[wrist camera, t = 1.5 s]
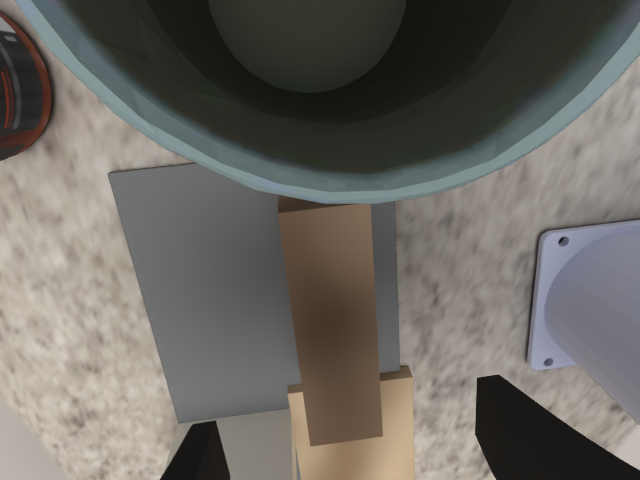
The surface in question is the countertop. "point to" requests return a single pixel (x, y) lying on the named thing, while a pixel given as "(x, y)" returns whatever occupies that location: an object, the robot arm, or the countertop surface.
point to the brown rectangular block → (333, 316)
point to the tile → (253, 445)
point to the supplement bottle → (21, 90)
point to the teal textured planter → (345, 83)
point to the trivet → (367, 454)
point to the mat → (228, 288)
